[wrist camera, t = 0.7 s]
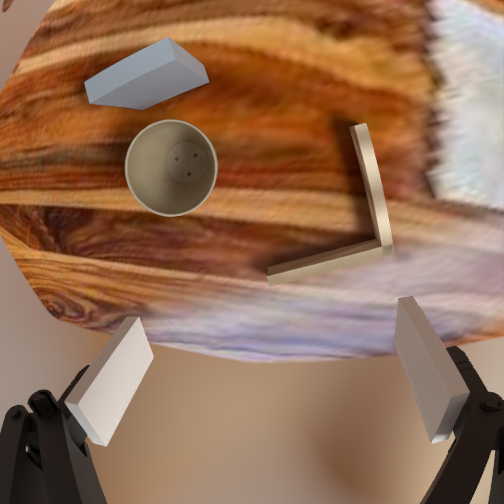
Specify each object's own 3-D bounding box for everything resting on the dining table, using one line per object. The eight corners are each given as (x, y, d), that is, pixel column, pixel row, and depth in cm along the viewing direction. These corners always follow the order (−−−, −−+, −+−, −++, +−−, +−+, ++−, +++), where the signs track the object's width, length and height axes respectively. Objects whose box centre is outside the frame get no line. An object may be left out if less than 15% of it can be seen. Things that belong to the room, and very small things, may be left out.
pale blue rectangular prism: (138, 93, 34) (84, 82, 23) (203, 65, 32) (168, 37, 21) (143, 109, 35) (89, 103, 23) (209, 82, 33) (175, 59, 22)
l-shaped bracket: (233, 158, 36) (228, 160, 33) (359, 124, 33) (366, 123, 30) (271, 276, 41) (270, 286, 38) (387, 246, 37) (394, 254, 35)
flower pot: (168, 213, 39) (145, 229, 32) (140, 141, 36) (112, 144, 29) (241, 187, 37) (231, 198, 30) (212, 109, 34) (196, 103, 27)
